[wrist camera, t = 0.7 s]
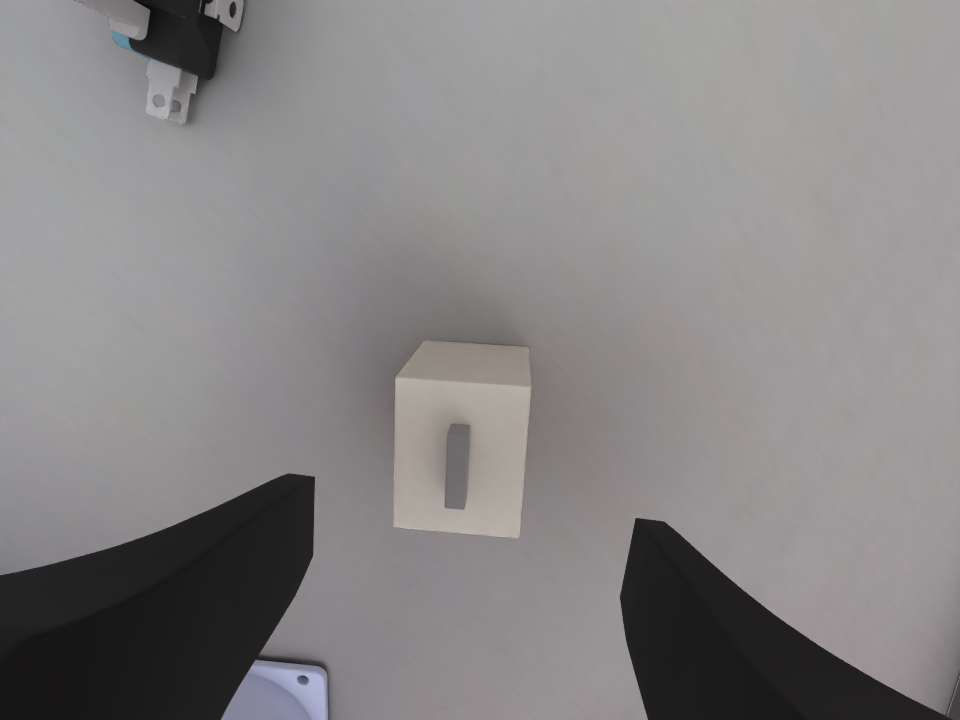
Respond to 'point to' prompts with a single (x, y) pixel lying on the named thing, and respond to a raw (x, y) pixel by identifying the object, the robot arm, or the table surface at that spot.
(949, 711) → the book
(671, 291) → the table surface
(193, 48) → the push button
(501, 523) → the block
